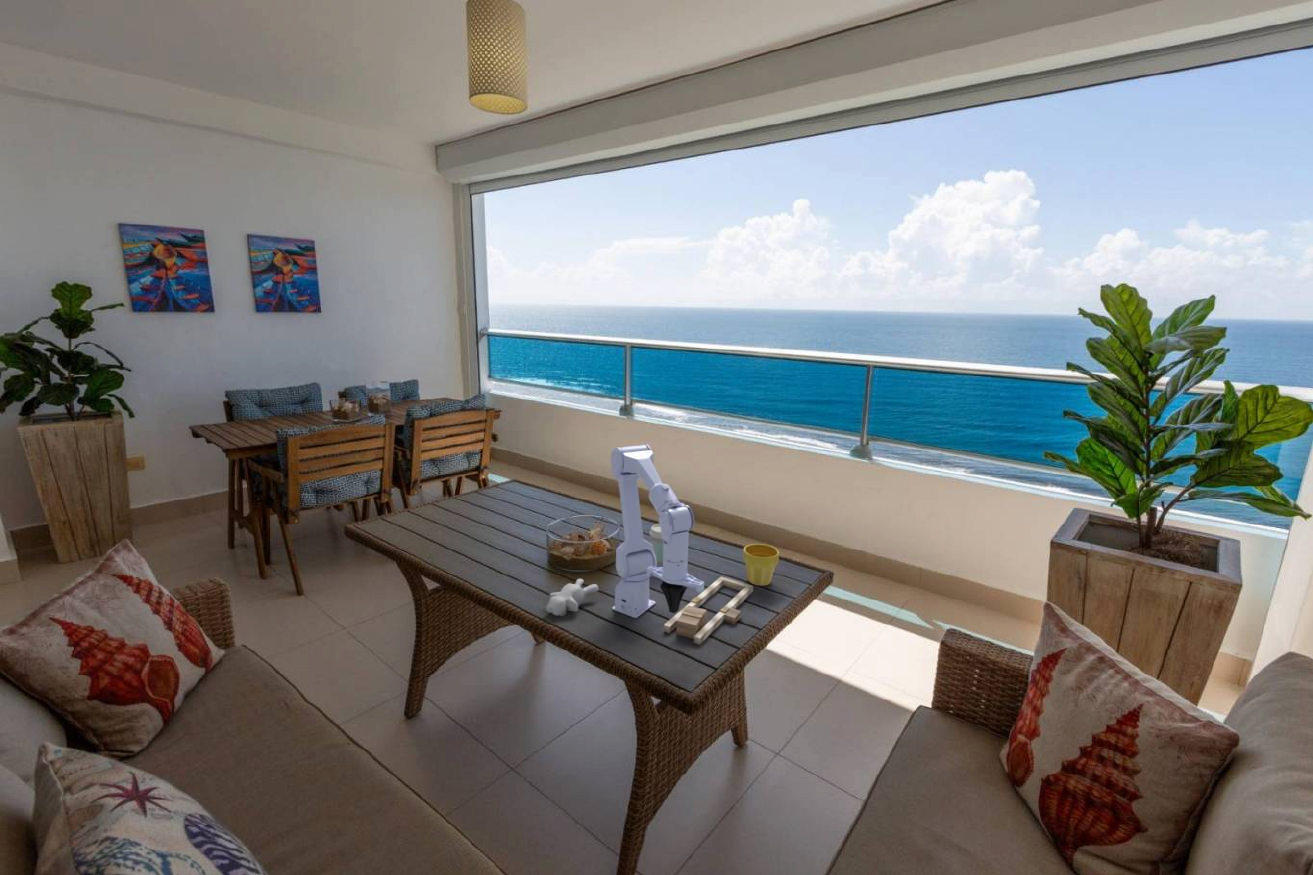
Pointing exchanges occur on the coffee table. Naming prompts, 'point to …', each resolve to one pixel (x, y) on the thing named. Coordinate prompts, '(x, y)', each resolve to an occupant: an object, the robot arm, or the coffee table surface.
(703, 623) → the rider block
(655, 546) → the coffee cup
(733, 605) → the beam slot
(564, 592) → the bunny figurine
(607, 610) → the coffee table surface
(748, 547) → the plant pot
